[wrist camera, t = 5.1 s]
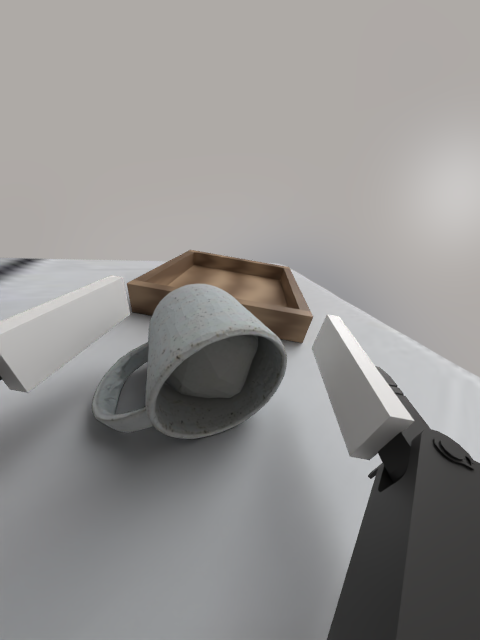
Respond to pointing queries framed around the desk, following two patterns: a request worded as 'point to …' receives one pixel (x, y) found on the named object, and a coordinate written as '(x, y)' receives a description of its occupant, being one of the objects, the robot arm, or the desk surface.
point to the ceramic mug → (196, 367)
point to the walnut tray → (230, 289)
